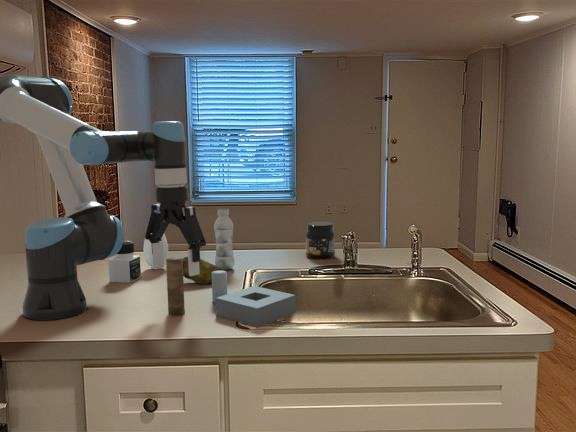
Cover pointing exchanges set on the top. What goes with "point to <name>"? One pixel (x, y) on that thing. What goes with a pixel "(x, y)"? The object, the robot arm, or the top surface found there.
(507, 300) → the top surface
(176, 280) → the long pin
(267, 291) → the hole block
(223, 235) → the plastic bottle
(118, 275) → the medicine bottle
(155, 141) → the robot arm
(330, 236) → the supplement container
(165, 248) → the sauce bottle
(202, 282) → the potato
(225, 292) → the short pin
